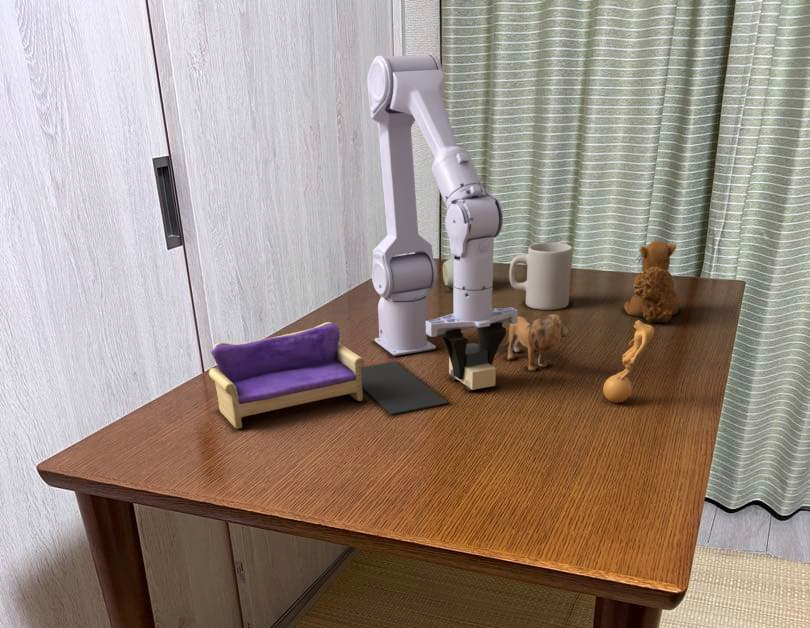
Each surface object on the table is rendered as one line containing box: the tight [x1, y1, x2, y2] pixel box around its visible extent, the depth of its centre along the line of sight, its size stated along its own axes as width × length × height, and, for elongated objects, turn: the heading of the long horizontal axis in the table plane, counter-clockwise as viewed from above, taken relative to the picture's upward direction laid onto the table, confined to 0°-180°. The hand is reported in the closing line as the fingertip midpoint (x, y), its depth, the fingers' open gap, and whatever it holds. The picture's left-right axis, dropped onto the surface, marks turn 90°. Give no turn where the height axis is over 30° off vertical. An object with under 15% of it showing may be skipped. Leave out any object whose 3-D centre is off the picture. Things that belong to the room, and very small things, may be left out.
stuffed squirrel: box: [623, 240, 681, 323], centre depth 149 cm, size 10×14×13 cm
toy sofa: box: [208, 321, 365, 430], centre depth 117 cm, size 21×9×10 cm, turn 118°
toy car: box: [448, 342, 497, 392], centre depth 125 cm, size 8×4×5 cm, turn 23°
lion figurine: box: [498, 313, 569, 372], centre depth 131 cm, size 15×5×9 cm, turn 33°
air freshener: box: [442, 253, 454, 290], centre depth 172 cm, size 11×8×10 cm
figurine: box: [602, 319, 655, 404], centre depth 115 cm, size 8×6×12 cm
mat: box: [361, 361, 449, 416], centre depth 125 cm, size 20×9×1 cm, turn 23°
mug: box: [508, 242, 573, 311], centre depth 160 cm, size 12×8×11 cm
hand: (471, 374), depth 125 cm, fingers closed on toy car, 4 cm apart
